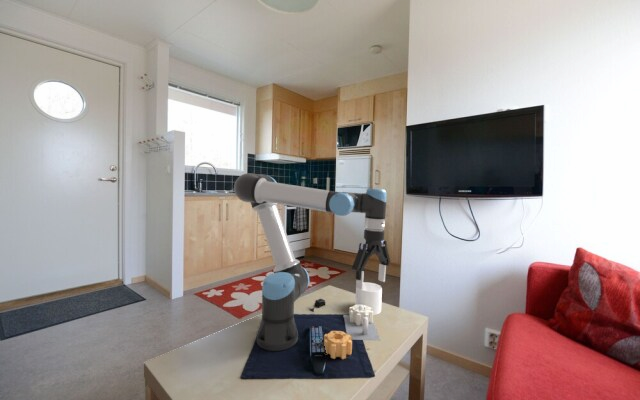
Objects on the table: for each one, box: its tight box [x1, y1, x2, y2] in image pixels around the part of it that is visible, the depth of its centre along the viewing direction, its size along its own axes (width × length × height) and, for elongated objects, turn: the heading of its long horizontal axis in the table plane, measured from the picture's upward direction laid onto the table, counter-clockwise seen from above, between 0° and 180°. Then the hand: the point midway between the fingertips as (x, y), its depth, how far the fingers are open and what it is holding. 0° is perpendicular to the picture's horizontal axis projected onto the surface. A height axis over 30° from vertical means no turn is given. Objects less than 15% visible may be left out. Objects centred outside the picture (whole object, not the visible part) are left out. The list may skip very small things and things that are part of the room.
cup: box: [355, 281, 383, 316], centre depth 124 cm, size 12×12×12 cm
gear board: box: [343, 305, 381, 341], centre depth 108 cm, size 12×19×8 cm, turn 0°
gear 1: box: [323, 330, 353, 360], centre depth 94 cm, size 10×10×5 cm
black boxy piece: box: [309, 298, 326, 313], centre depth 126 cm, size 12×7×5 cm, turn 135°
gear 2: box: [348, 303, 374, 326], centre depth 113 cm, size 10×10×5 cm
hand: (370, 284), depth 103 cm, fingers open, 13 cm apart
